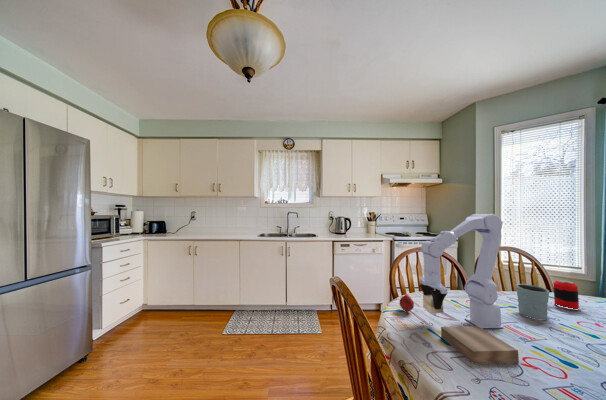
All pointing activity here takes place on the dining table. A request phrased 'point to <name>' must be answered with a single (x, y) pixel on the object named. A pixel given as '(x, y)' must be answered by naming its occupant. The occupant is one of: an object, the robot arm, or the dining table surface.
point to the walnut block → (479, 345)
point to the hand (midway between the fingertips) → (433, 306)
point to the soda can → (566, 294)
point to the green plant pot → (532, 301)
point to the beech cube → (430, 304)
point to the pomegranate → (406, 303)
